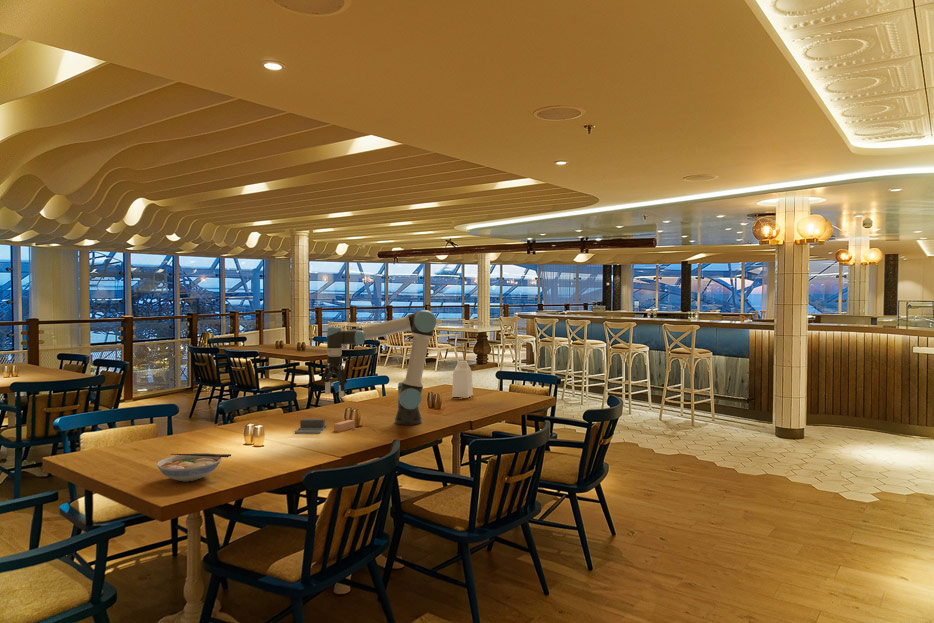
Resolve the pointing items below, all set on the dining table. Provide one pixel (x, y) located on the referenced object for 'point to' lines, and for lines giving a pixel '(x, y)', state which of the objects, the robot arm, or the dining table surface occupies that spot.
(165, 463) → the ramen bowl
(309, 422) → the charcoal bar
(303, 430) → the slot board
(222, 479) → the dining table surface
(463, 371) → the milk
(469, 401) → the dining table surface
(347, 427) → the terracotta bar
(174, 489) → the dining table surface
